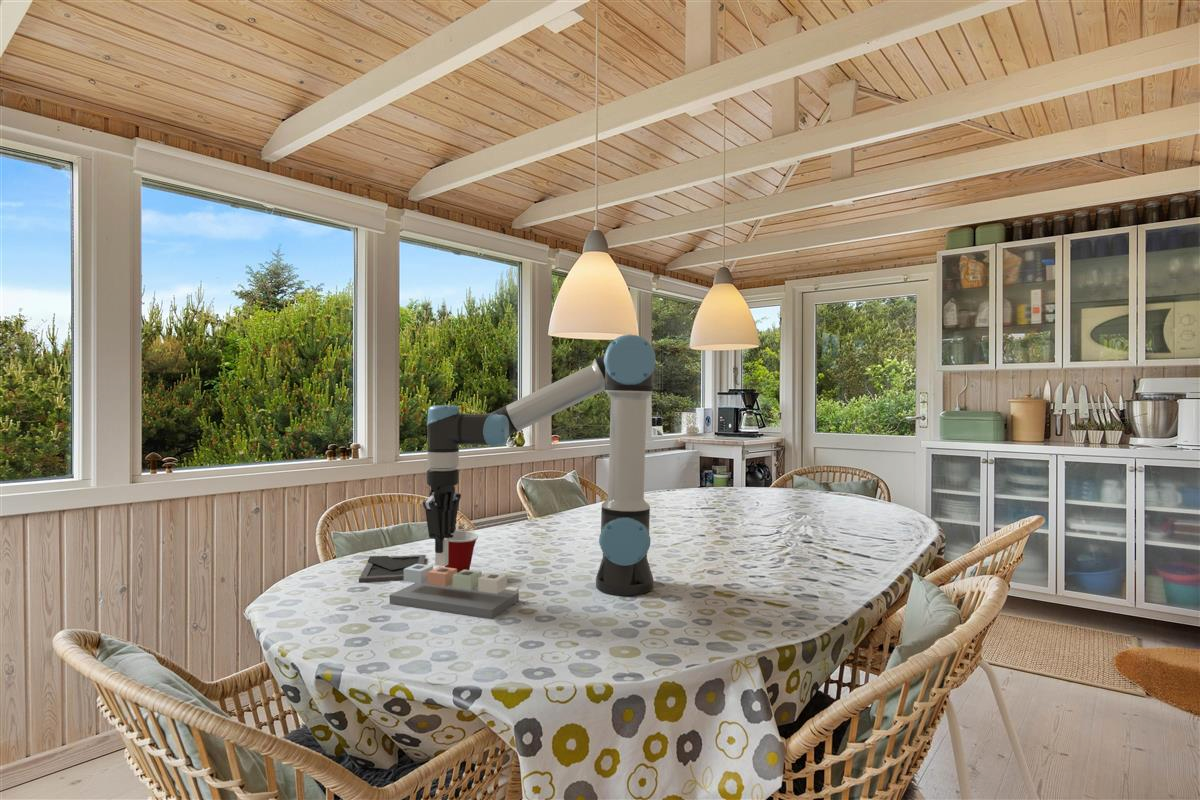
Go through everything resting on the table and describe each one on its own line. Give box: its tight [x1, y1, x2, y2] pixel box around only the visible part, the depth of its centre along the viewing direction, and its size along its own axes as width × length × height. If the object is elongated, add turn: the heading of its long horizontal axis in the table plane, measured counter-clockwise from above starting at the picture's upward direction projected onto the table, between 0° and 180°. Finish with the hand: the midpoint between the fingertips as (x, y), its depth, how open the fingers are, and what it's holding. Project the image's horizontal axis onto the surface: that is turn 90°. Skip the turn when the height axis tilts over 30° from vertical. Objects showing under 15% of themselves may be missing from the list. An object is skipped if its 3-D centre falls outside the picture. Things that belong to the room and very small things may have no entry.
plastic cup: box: [444, 529, 479, 573], centre depth 169 cm, size 11×11×12 cm
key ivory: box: [478, 572, 508, 594], centre depth 146 cm, size 5×5×3 cm
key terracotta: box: [428, 566, 457, 587], centre depth 151 cm, size 5×5×3 cm
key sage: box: [453, 570, 483, 590], centre depth 149 cm, size 5×5×3 cm
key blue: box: [403, 564, 434, 584], centre depth 153 cm, size 5×5×3 cm
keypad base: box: [389, 580, 520, 620], centre depth 150 cm, size 28×13×3 cm, turn 70°
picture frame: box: [358, 554, 427, 583], centre depth 176 cm, size 16×2×21 cm
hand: (441, 564), depth 151 cm, fingers closed
